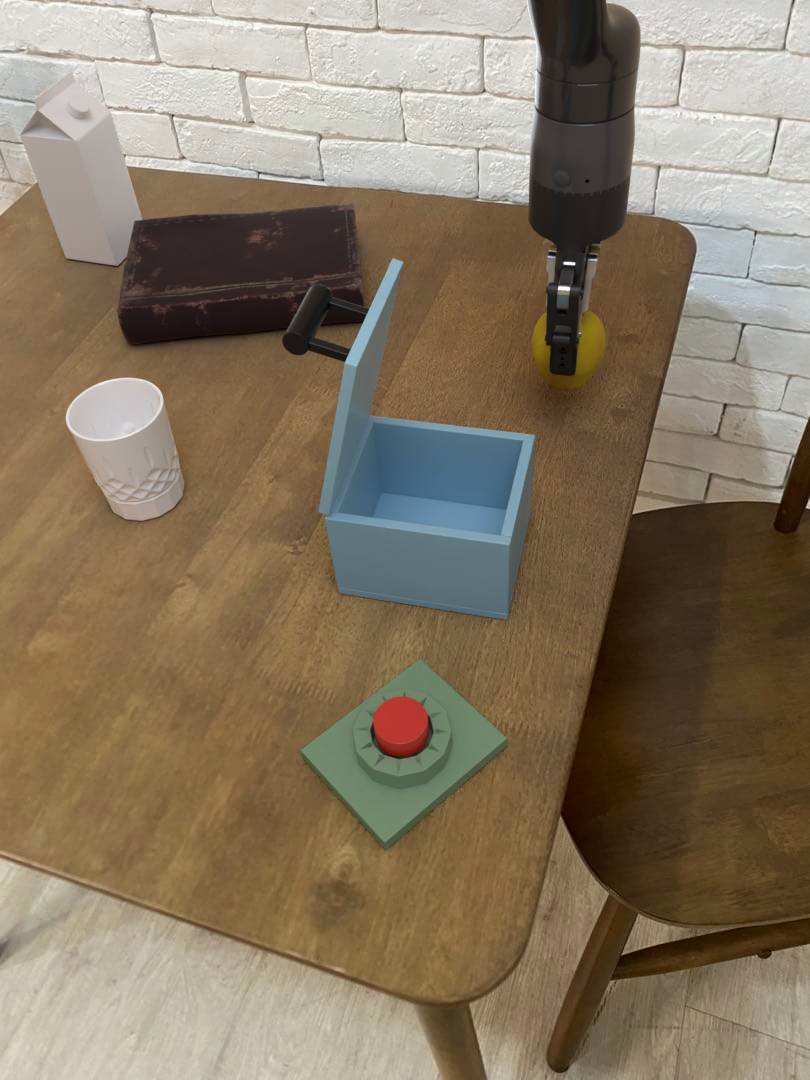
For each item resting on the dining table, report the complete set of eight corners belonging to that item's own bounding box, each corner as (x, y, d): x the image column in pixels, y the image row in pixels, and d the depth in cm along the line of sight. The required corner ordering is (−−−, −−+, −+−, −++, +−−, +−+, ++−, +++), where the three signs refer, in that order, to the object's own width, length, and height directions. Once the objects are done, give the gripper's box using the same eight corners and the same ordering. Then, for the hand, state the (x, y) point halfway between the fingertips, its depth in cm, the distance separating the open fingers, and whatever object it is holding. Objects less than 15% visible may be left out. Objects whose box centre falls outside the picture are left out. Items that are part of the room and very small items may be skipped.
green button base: (420, 667, 69) (418, 643, 67) (507, 746, 65) (508, 724, 62) (302, 758, 65) (295, 736, 63) (385, 850, 60) (382, 830, 58)
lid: (403, 261, 64) (325, 236, 64) (357, 366, 56) (269, 338, 57) (371, 411, 75) (304, 390, 75) (328, 515, 68) (254, 492, 68)
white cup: (134, 455, 87) (102, 369, 80) (207, 474, 85) (181, 388, 77) (85, 514, 82) (45, 428, 75) (160, 536, 80) (127, 450, 72)
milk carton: (65, 260, 111) (4, 96, 96) (97, 229, 115) (43, 68, 101) (117, 267, 109) (63, 102, 95) (147, 235, 113) (100, 73, 99)
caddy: (530, 512, 79) (535, 434, 73) (507, 620, 72) (509, 545, 65) (376, 491, 82) (366, 414, 75) (338, 593, 75) (323, 518, 68)
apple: (599, 407, 82) (607, 331, 76) (526, 401, 83) (528, 326, 77) (604, 362, 86) (611, 287, 80) (534, 358, 87) (537, 283, 82)
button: (404, 700, 65) (403, 686, 63) (439, 734, 63) (439, 720, 61) (364, 732, 63) (361, 718, 62) (399, 767, 61) (397, 754, 60)
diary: (366, 327, 98) (362, 285, 94) (128, 351, 98) (114, 311, 94) (357, 234, 110) (353, 194, 107) (146, 255, 110) (134, 216, 106)
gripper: (622, 216, 64) (602, 405, 77) (640, 122, 74) (619, 304, 86) (513, 210, 66) (511, 395, 78) (544, 119, 75) (538, 298, 88)
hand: (568, 347), depth 82 cm, fingers closed on apple, 6 cm apart
